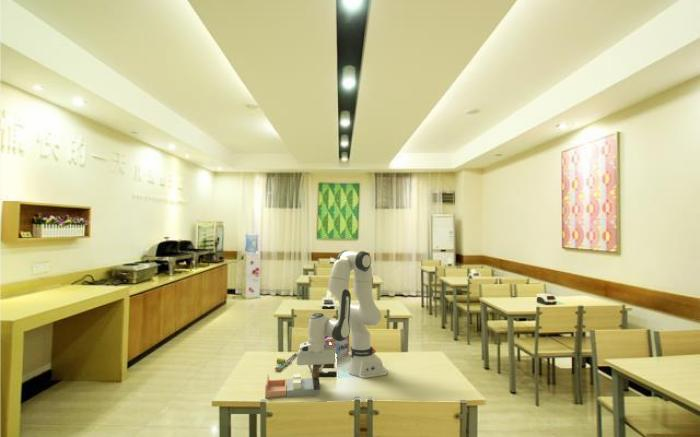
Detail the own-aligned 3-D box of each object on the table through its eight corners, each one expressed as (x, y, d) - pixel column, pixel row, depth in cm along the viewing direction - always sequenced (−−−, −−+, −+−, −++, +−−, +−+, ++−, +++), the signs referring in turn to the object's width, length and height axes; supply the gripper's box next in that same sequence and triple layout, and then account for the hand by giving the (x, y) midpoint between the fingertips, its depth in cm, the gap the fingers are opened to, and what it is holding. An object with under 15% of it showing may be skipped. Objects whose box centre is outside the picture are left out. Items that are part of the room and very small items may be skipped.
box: (286, 384, 181) (286, 373, 181) (286, 396, 168) (286, 384, 169) (267, 385, 180) (267, 374, 180) (265, 398, 167) (265, 385, 167)
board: (317, 383, 184) (317, 377, 184) (319, 394, 171) (319, 388, 171) (287, 384, 181) (287, 379, 181) (286, 396, 168) (286, 390, 169)
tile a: (300, 379, 181) (300, 373, 182) (300, 382, 178) (300, 376, 178) (293, 379, 181) (293, 373, 181) (293, 383, 177) (293, 377, 177)
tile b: (300, 385, 175) (301, 379, 175) (301, 388, 171) (301, 382, 171) (292, 385, 174) (293, 379, 174) (292, 389, 170) (293, 383, 170)
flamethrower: (267, 370, 199) (283, 373, 197) (267, 366, 199) (283, 368, 197) (287, 354, 227) (301, 356, 225) (287, 350, 227) (301, 352, 225)
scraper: (317, 374, 186) (317, 358, 187) (319, 389, 168) (320, 372, 169) (311, 374, 186) (312, 358, 186) (313, 390, 168) (314, 372, 168)
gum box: (321, 363, 211) (321, 341, 211) (313, 360, 217) (313, 338, 217) (348, 354, 228) (349, 333, 228) (340, 351, 233) (341, 331, 234)
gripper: (335, 342, 183) (335, 369, 182) (296, 344, 179) (296, 371, 179) (336, 346, 176) (336, 374, 176) (296, 348, 173) (296, 376, 173)
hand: (315, 372), depth 177 cm, fingers closed on scraper, 3 cm apart
